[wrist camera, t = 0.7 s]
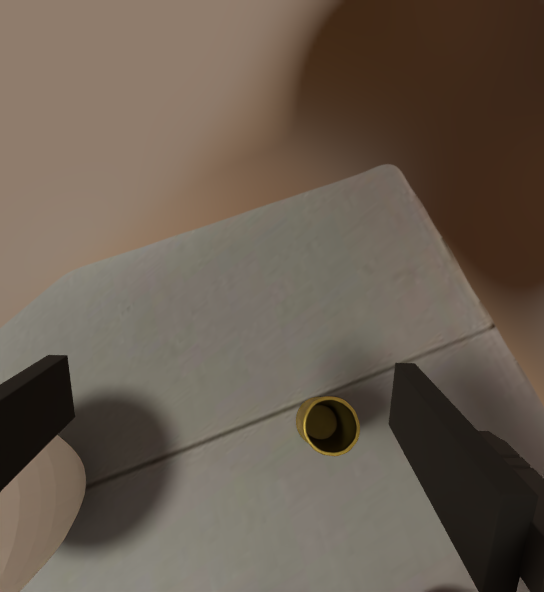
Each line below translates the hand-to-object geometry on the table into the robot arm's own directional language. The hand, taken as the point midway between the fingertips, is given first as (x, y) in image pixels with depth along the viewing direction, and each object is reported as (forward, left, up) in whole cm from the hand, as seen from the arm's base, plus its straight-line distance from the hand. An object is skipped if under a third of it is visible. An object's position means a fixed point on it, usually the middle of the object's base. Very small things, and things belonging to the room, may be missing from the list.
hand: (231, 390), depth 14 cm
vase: (-4, -5, -34) cm, 35 cm away
